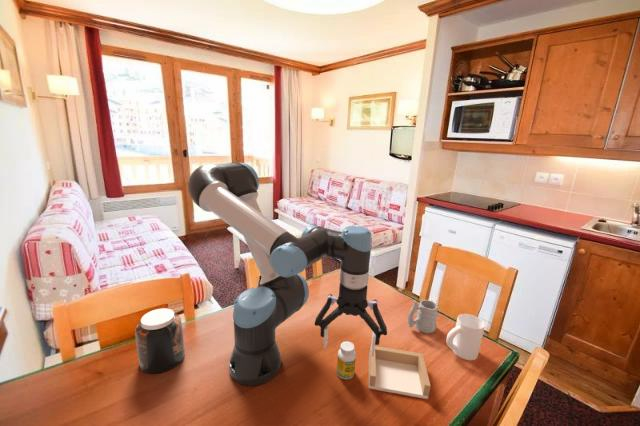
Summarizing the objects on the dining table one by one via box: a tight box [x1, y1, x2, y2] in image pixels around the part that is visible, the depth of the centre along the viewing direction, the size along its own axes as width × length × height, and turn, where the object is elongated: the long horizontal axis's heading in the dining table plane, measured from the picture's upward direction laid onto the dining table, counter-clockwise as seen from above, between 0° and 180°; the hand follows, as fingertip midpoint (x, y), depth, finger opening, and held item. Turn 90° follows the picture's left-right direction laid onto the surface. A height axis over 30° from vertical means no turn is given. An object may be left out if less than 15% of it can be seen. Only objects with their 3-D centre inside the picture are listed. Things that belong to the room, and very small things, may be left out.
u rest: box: [368, 344, 431, 400], centre depth 83 cm, size 16×12×4 cm
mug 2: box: [445, 313, 486, 361], centre depth 93 cm, size 8×12×12 cm
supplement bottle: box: [336, 340, 357, 380], centre depth 83 cm, size 5×5×10 cm
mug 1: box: [407, 299, 439, 334], centre depth 105 cm, size 8×12×12 cm, turn 105°
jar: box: [134, 307, 185, 375], centre depth 84 cm, size 12×12×15 cm
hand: (348, 349), depth 82 cm, fingers open, 13 cm apart
